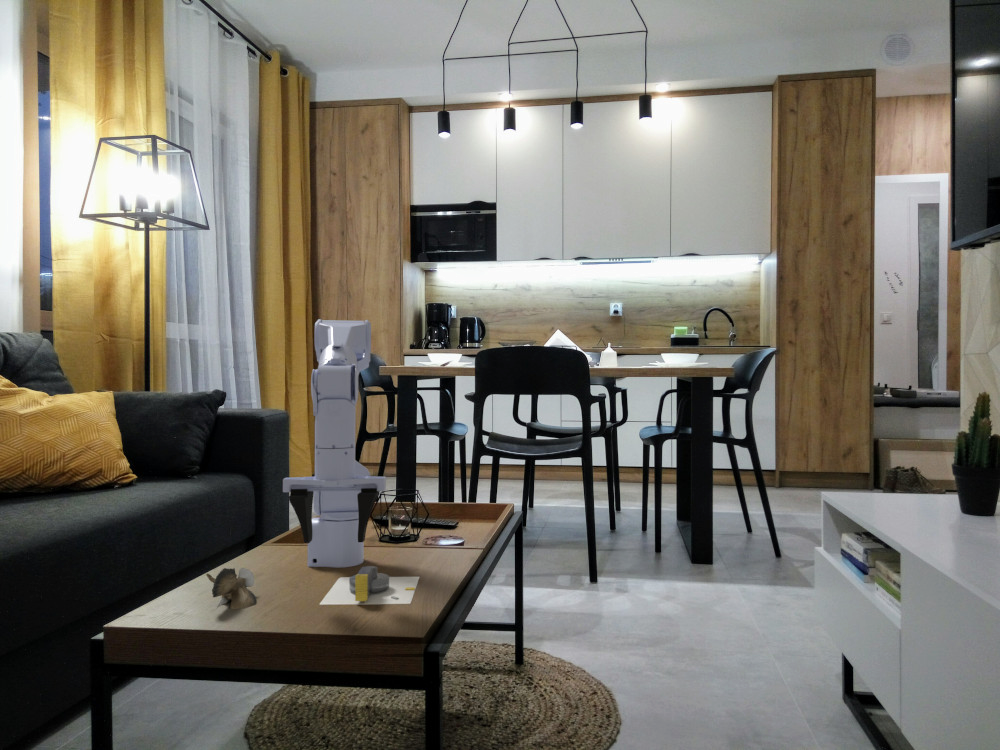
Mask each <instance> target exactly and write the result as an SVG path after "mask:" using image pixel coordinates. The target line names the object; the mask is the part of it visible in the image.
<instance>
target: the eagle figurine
mask: <svg viewBox="0 0 1000 750" xmlns="http://www.w3.org/2000/svg"><path fill="white" fill-rule="evenodd" d="M205 576H206V577H207V579H208V580H209V581H210V582H211V583H213V587H212V589H211V592H212V598H218V597H220V599H219V601H218V602H217V604H216V609H218V608H219V607H220V606H222V605H226V604H227V603H228V602H230V601H231V602H230V608H229V610H242V609H248V608H251V607H254V606H255V605H257V603H258V602H257V597H256V594H254V592H253V591H251V590H250V589H249V588H251V587H253V586H254V584H255V575H254V573H253V571H252V570H250V569H248V568H245V567H241V568H240V569H239V572H238V574H237V573H236V569H235V567H233V568H225V567H223V568H222V569H221V571H219V573H218V574H217V575H216V576H215V578H214V576H212V575H211V574H210V573H206V574H205Z"/></svg>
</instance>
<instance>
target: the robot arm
mask: <svg viewBox="0 0 1000 750" xmlns="http://www.w3.org/2000/svg"><path fill="white" fill-rule="evenodd" d="M313 334H314V339H313V341H314V350H315V355H316V361H317V362H318V366H317V369H314V368H313V369H312V372H311V380H310V392H311V399H312V407H313V408H312V412H313V415H312V416H314V417H315V420H314V476H301V477H300V476H298V477H295V476H294V477H284V478H283V479H282V493H289V494H290V495H289V496H288V500H289V503H290V505H291V506H292V509H293V511H294V512H295V514H296V517H297V520H298V523H299V526H300V528H301V529H300V530H301V533H302V537H303V543H304V544H307V567H308V568H310V567H311V568H317V567H318V568H319V567H321V568H322V567H323V568H324V567H325V568H326V567H327V568H348V567H349V568H350V567H355V566H358V565H362V564H363V563H364V560H365V559H364V557H365V556H364V555H365V554H364V553H365V552H364V551H365V549H364V543H365V540H366V535H367V534H366V533H367V527H368V523H369V520H370V517H371V514H372V510H373V508H374V506H375V503H376V501H377V499H378V497H379V494H380V492H385V490H386V489H387V477H386V476H371V472H369V469H368V468H367V467H366V466H364V465H363V464H361V463H360V462H359V461H357V460H356V420H357V417H356V416H357V411H356V407H357V403H358V399H359V375H360V372H362V371H364V370H366V369H368V368H370V362H371V352H372V323H371V322H370V321H369V319H365V320H343V319H342V320H341V319H340V320H337V319H336V320H335V319H333V320H332V319H329V320H328V319H327V320H326V319H325V320H323V319H321V318H319V319H317V320H316V322H315V323H314V333H313ZM313 512H314V514H316V516H320V517H313ZM315 561H316V562H315Z"/></svg>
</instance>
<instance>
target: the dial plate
mask: <svg viewBox="0 0 1000 750" xmlns="http://www.w3.org/2000/svg"><path fill="white" fill-rule="evenodd" d="M350 577H351V576H348V577H347V576H345V577H344V576H341V577H338V579H336V581H335V582H334V584H333V586H331V588H330V589H329V591H328V592H327V593H326V595H324V597H323V599H322V600H321V601H320V602H319V604H318V605H319V606H331V605H332V606H335V605H336V606H339V605H340V606H341V605H345V606H346V605H347V606H348V605H353V606H354V605H411V603H412V600H413V597H414V595H415V592H416V589H417V587H418V583H419V580H420V576H389V588H388V589H387V590H385V591H382V592H378V593H371V594H370V596H369V598H368V600H367V601H355V592H352V591H350V590H349V579H350Z"/></svg>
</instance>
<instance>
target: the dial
mask: <svg viewBox="0 0 1000 750" xmlns="http://www.w3.org/2000/svg"><path fill="white" fill-rule="evenodd" d="M349 577H350V579H349V590H350V591H352V592H355V601H367V600H368V598H369V596H370V594H371V593H378V592H382V591H385V590H387V589H388V588H389V577H390V575H389V574H387V573H384V572H383V573H382V572H378V567H377V566H375V565H365V566H361V568H360V569H359V571H358V572H357V573H356V574H354V575H352V576H349Z"/></svg>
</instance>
